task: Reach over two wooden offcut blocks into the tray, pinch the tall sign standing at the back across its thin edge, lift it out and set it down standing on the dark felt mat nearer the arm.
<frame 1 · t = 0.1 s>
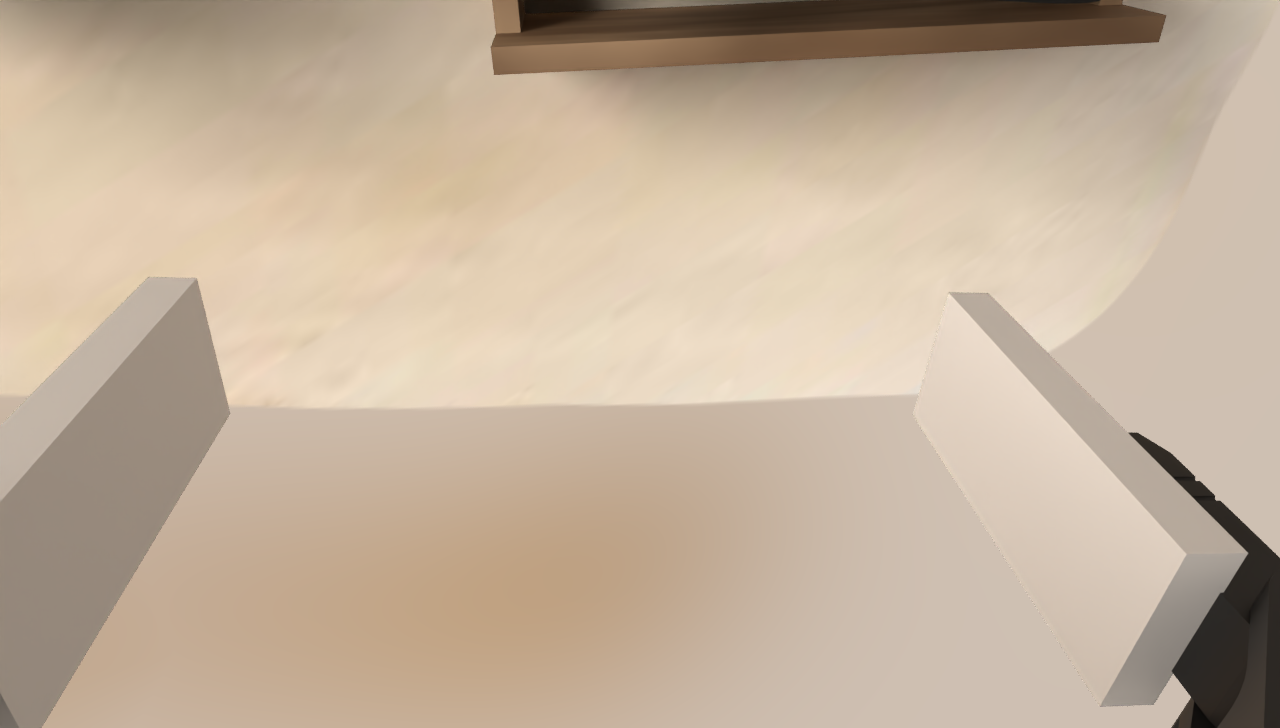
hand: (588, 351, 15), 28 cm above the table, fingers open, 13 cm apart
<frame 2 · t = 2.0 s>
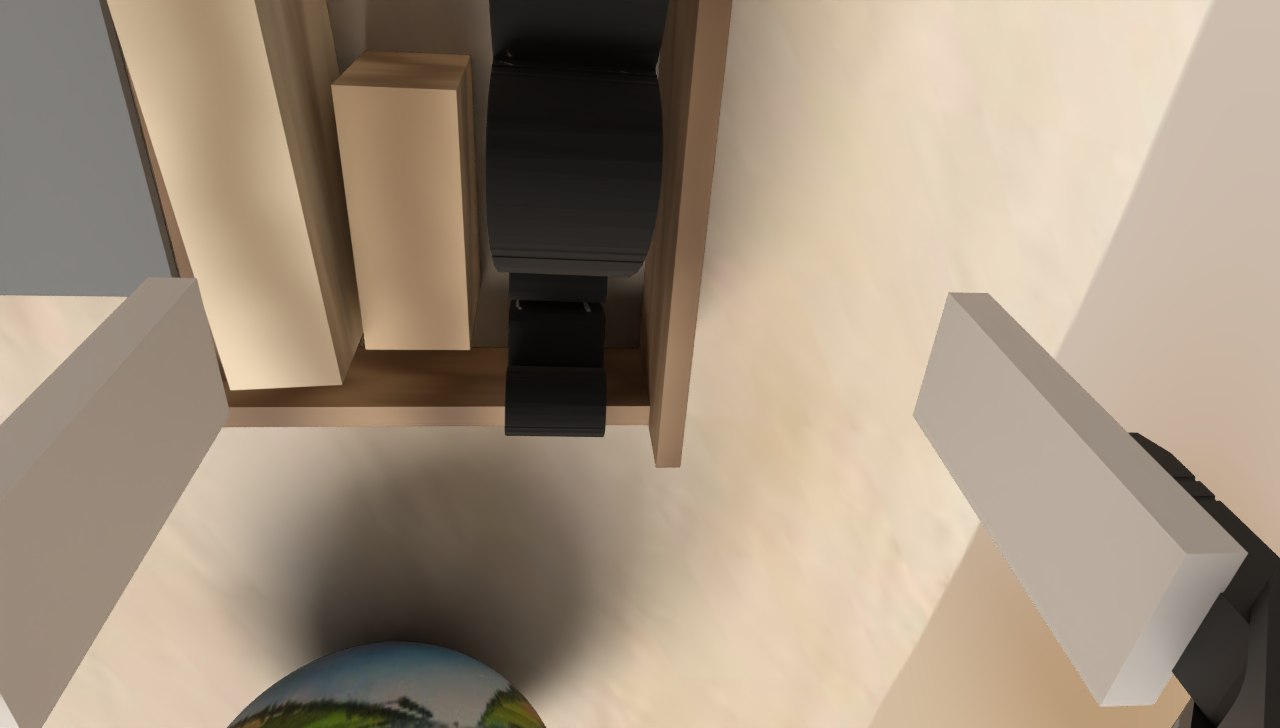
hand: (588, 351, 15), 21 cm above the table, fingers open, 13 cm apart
tray: (433, 79, 32), on the table
decorative sphere: (409, 677, 51), on the table
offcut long: (296, 111, 32), resting in tray
sign: (559, 83, 33), resting in tray
offcut short: (428, 176, 34), resting in tray
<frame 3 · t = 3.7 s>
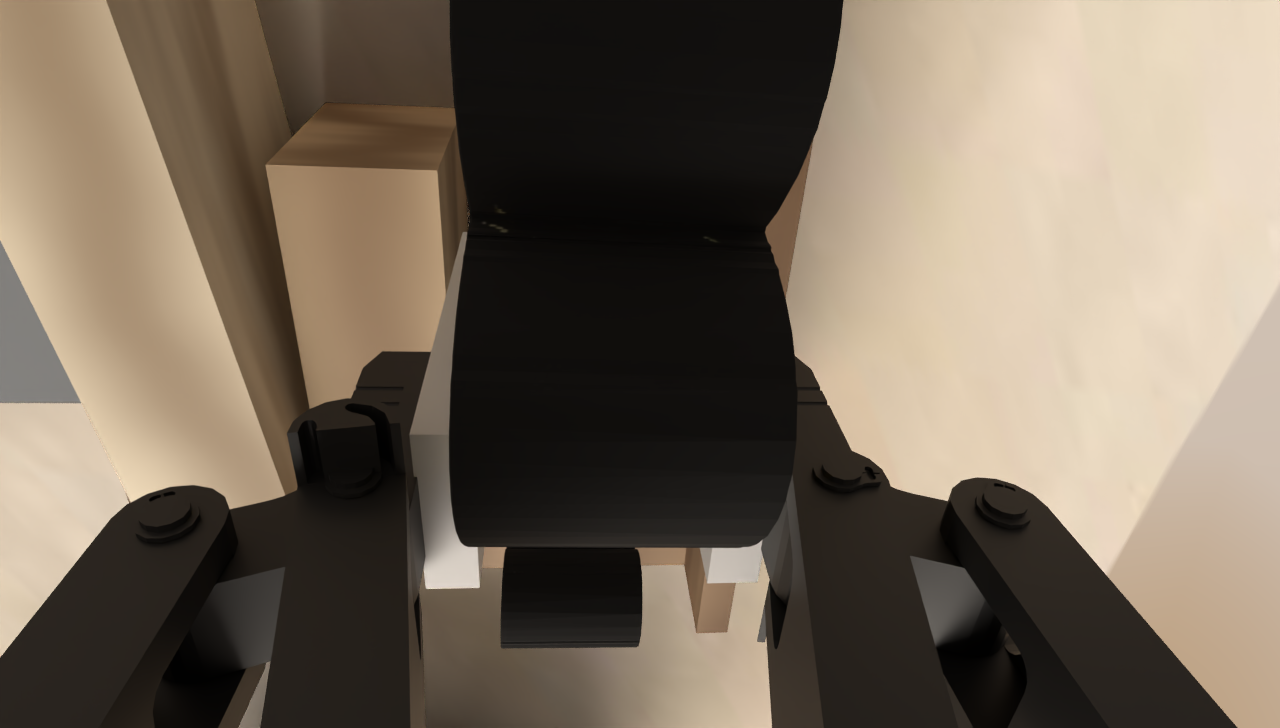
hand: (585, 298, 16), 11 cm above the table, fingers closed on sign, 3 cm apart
tray: (413, 138, 25), on the table
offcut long: (238, 178, 25), resting in tray
sign: (576, 142, 26), resting in tray, touching gripper
offcut short: (409, 256, 27), resting in tray
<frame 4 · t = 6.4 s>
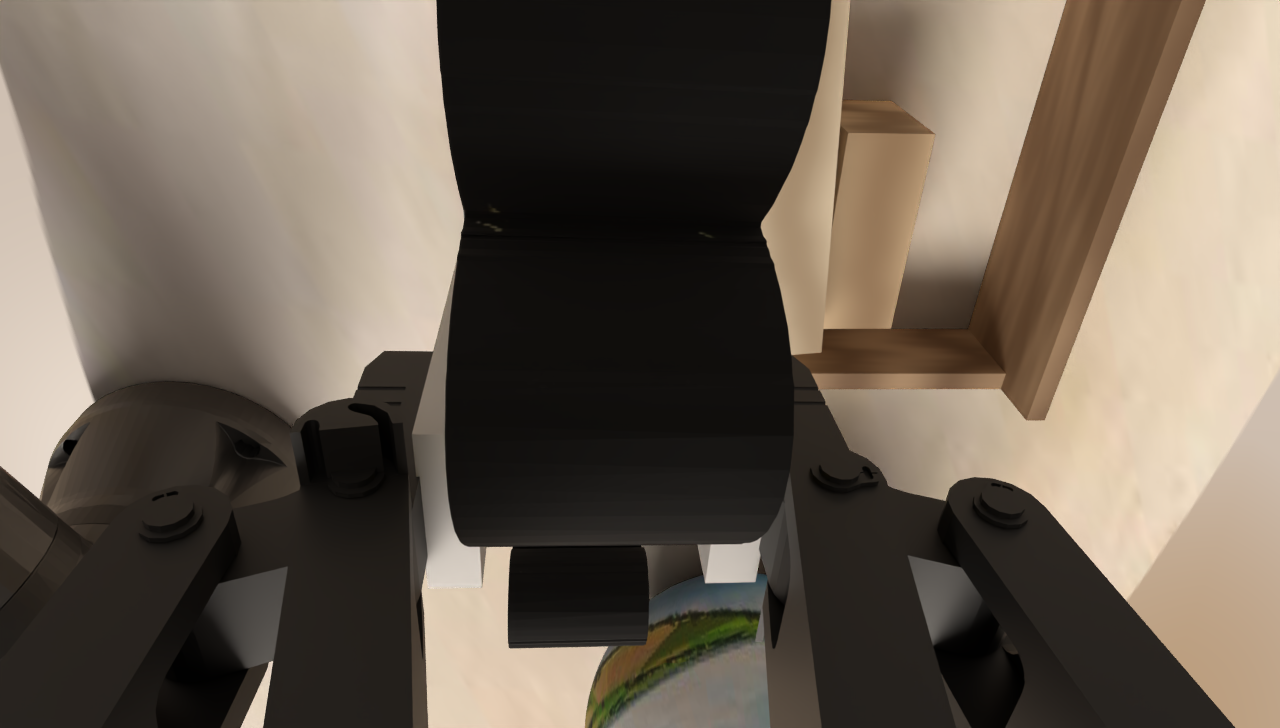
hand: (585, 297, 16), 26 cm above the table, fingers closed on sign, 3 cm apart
tray: (862, 119, 42), on the table
decorative sphere: (716, 607, 61), on the table
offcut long: (753, 145, 42), resting in tray
sign: (576, 141, 26), point 15 cm above the table, touching gripper
offcut short: (836, 193, 44), resting in tray
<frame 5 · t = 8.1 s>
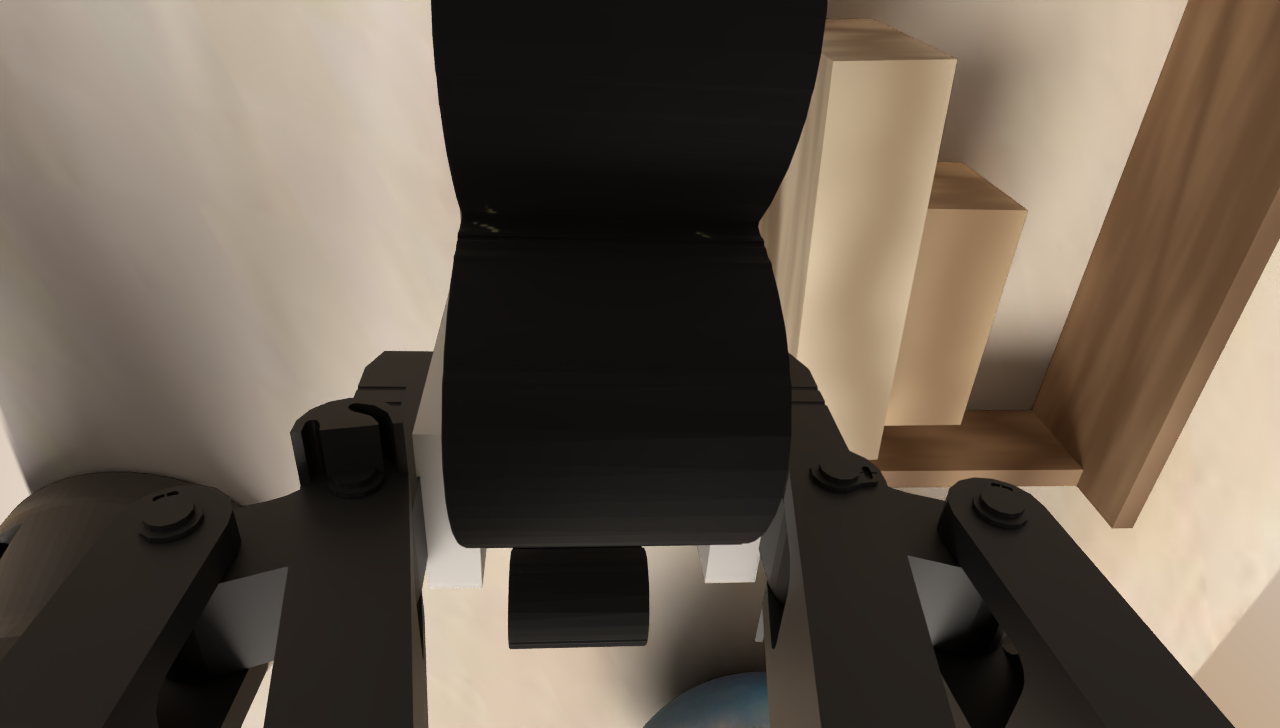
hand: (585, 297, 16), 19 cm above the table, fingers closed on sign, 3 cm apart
tray: (928, 183, 36), on the table
decorative sphere: (736, 702, 55), on the table
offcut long: (802, 210, 36), resting in tray
sign: (576, 141, 26), point 8 cm above the table, touching gripper
offcut short: (893, 264, 38), resting in tray
when the fingers open (12 cm above the table, at t = 9.5 s): sign stays where it is, resting on felt mat.
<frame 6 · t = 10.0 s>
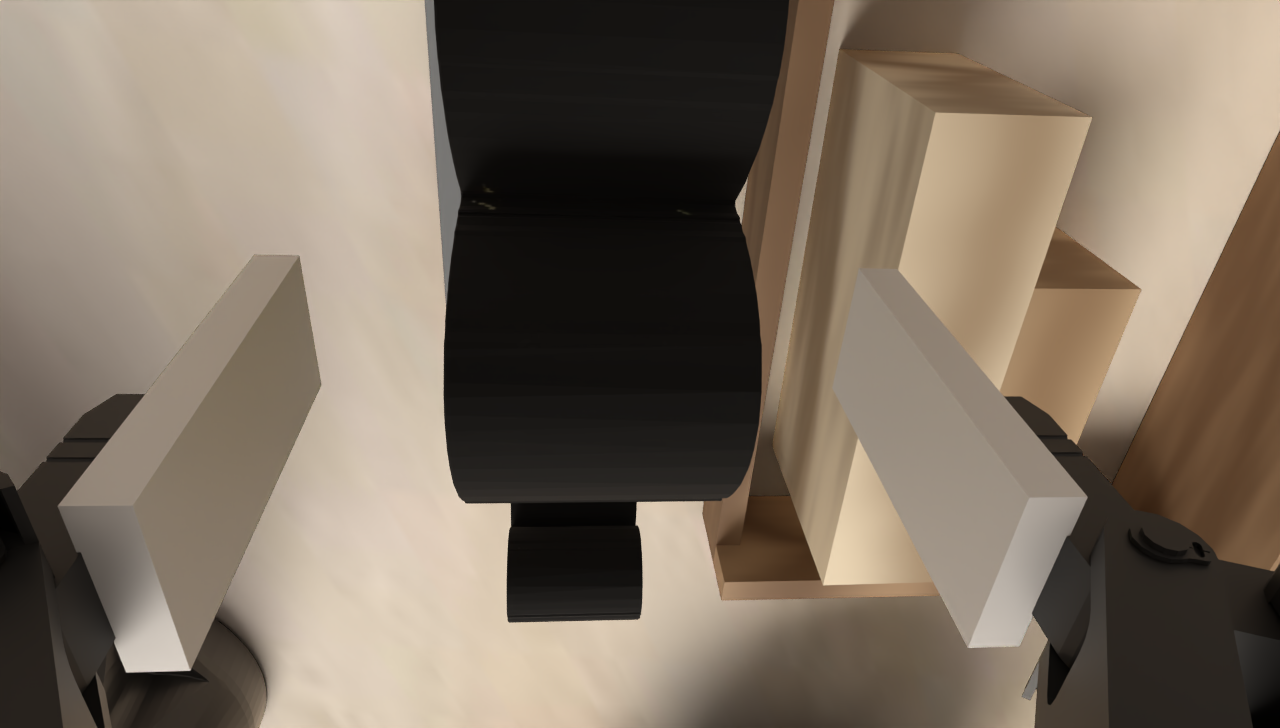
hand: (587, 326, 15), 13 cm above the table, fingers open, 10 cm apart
tray: (1003, 242, 30), on the table
felt mat: (575, 131, 27), on the table
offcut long: (851, 273, 30), resting in tray
sign: (571, 136, 26), resting on felt mat
offcut short: (956, 334, 32), resting in tray
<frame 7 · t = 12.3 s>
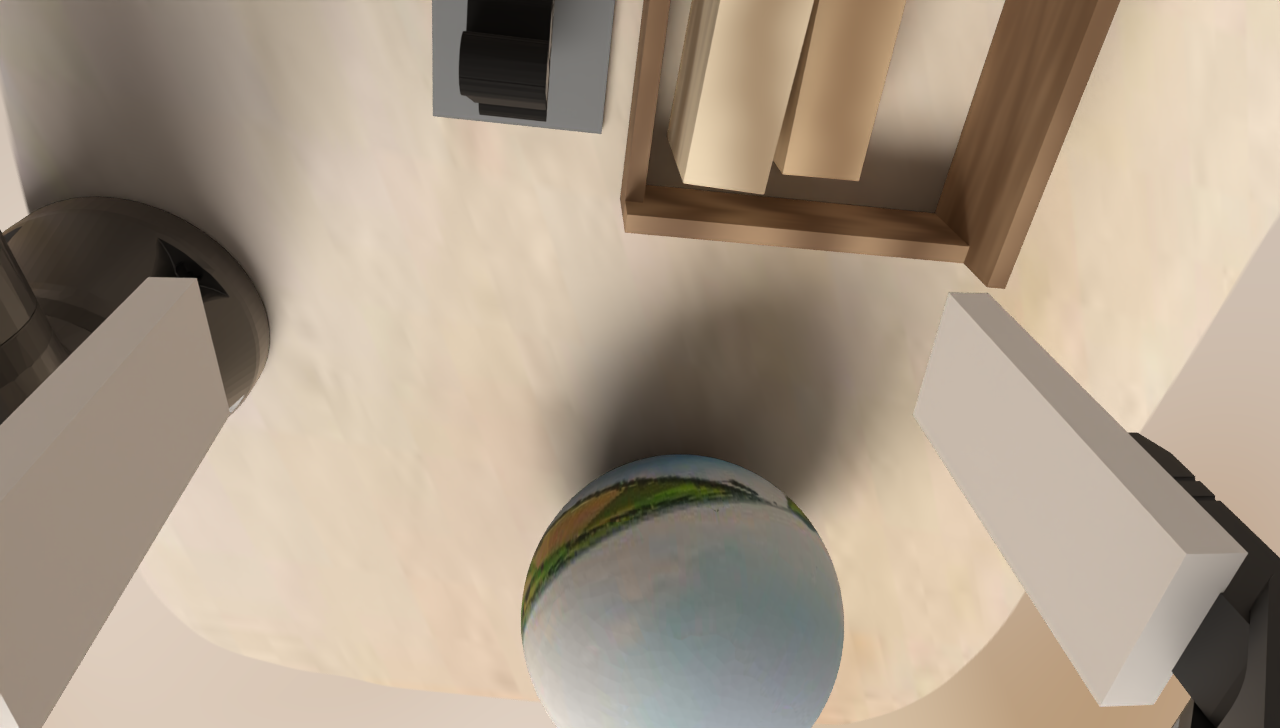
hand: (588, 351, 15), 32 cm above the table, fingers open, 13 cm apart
decorative sphere: (665, 504, 60), on the table
offcut short: (812, 50, 43), resting in tray
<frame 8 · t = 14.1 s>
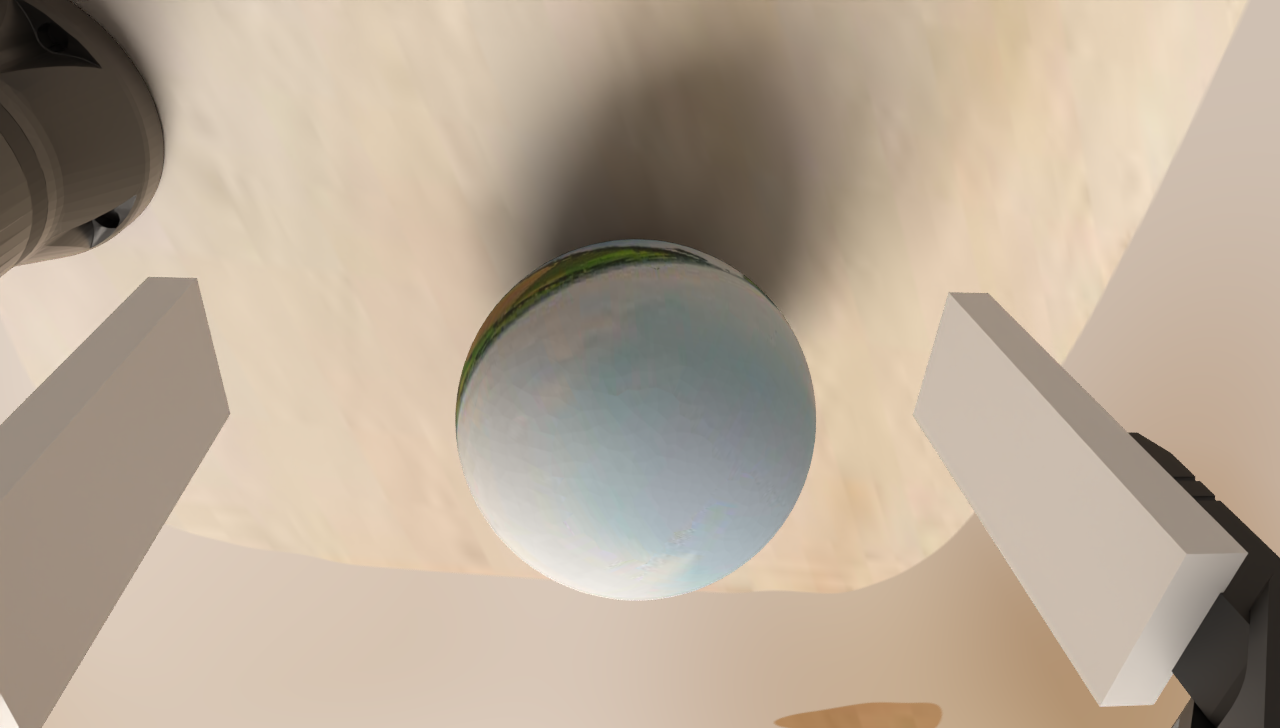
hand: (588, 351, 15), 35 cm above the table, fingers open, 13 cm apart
decorative sphere: (623, 329, 54), on the table
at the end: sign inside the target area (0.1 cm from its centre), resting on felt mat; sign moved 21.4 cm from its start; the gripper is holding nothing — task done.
